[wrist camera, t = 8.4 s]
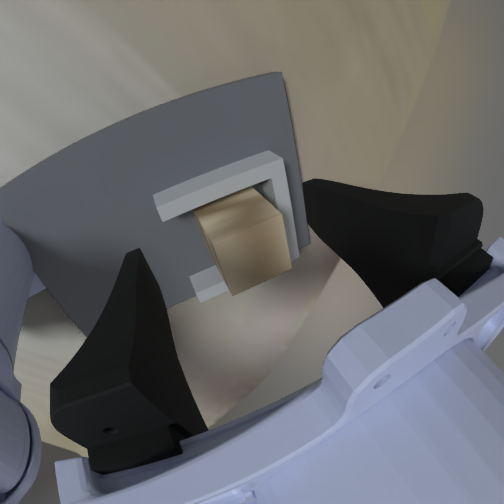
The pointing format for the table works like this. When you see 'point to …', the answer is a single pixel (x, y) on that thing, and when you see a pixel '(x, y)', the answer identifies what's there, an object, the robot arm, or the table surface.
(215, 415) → the table surface
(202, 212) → the connector block
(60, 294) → the holder board
